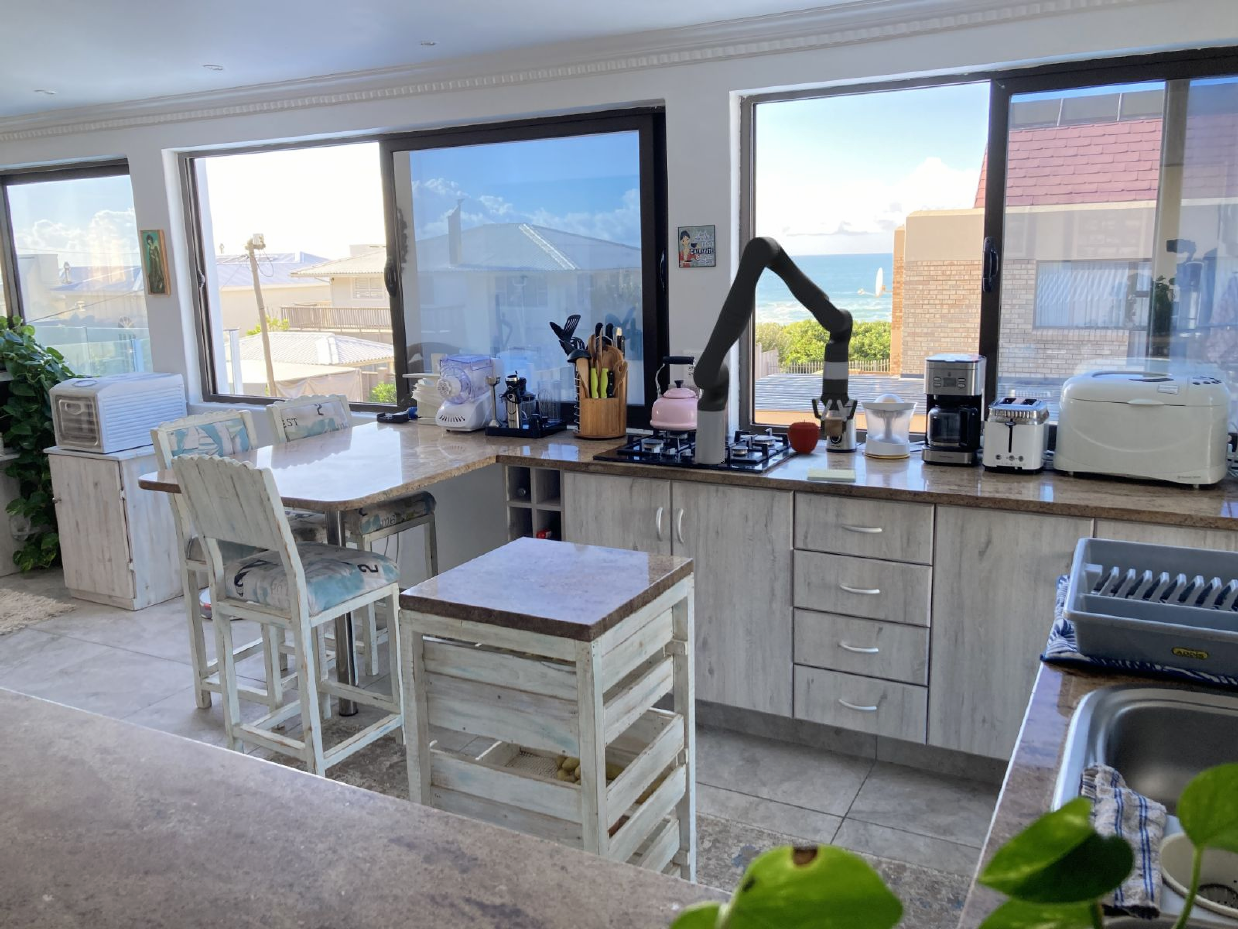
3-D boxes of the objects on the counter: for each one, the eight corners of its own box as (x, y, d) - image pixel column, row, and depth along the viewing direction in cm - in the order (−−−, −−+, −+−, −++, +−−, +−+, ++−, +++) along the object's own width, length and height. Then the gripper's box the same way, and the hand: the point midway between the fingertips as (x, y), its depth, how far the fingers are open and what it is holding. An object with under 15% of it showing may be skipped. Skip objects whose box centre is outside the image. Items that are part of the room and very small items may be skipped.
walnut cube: (824, 435, 292) (825, 419, 291) (824, 433, 297) (825, 416, 296) (841, 436, 291) (842, 419, 290) (841, 433, 296) (842, 417, 295)
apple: (817, 450, 338) (818, 417, 335) (820, 456, 327) (822, 422, 325) (785, 450, 339) (786, 416, 336) (787, 456, 328) (788, 421, 326)
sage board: (807, 479, 292) (807, 476, 292) (808, 471, 304) (808, 468, 303) (855, 481, 289) (855, 478, 289) (854, 473, 301) (855, 470, 300)
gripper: (810, 377, 288) (808, 434, 292) (860, 378, 285) (857, 435, 289) (811, 374, 295) (809, 430, 299) (860, 375, 292) (857, 431, 296)
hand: (833, 432), depth 294 cm, fingers closed on walnut cube, 5 cm apart
